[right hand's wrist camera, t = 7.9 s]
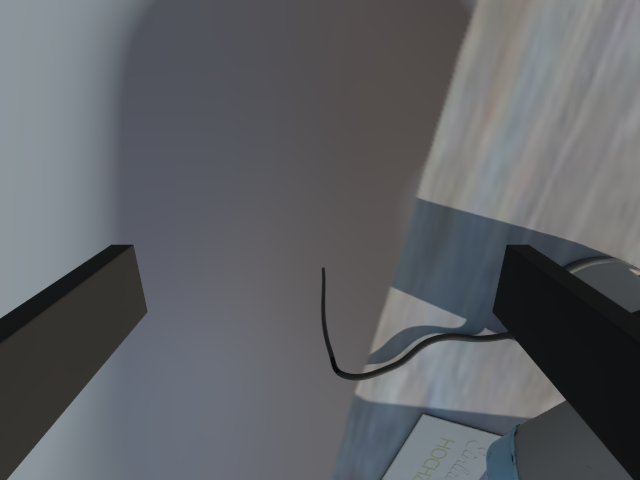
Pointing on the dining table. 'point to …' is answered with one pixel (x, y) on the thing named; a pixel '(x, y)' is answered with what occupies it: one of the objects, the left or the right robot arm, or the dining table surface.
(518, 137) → the dining table surface
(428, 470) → the invitation card
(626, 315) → the right robot arm
